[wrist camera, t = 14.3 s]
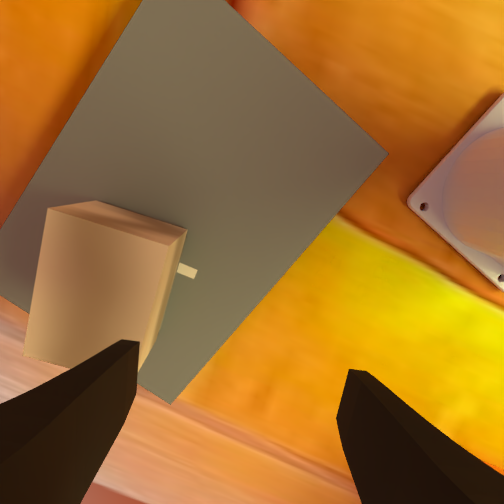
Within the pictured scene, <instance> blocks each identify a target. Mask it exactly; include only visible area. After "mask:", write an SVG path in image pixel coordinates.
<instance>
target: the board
mask: <svg viewBox="0 0 504 504" xmlns="http://www.w3.org/2000/svg"><path fill="white" fill-rule="evenodd" d="M388 154H389V153H388V152H387V151H386V150H385V149H383V148H382V147H381V146H380V145H379V144H378V143H377V142H376V141H375V140H374V139H373V138H372V137H371V136H370V135H368V134H367V133H366V132H365V131H364V130H363V129H362V128H361V127H360V126H359V125H358V124H357V123H356V122H355V121H353V120H352V119H351V118H350V117H349V116H348V115H347V114H346V113H345V112H344V111H343V110H342V109H341V108H340V107H338V106H337V105H336V104H335V103H334V102H333V101H332V100H331V99H330V98H329V97H328V96H327V95H326V94H325V93H323V92H322V91H321V90H320V89H319V88H318V87H317V86H316V85H315V84H314V83H313V82H312V81H311V80H310V79H308V78H307V77H306V76H305V75H304V74H303V73H302V72H301V71H300V70H299V69H298V68H297V67H296V66H294V65H293V64H292V63H291V62H290V61H289V60H288V59H287V58H286V57H285V56H284V55H283V54H282V53H281V52H279V51H278V50H277V49H276V48H275V47H274V46H273V45H272V44H271V43H270V42H269V41H268V40H267V39H266V38H264V37H263V36H262V35H261V34H260V33H259V32H258V31H257V30H256V29H255V28H254V27H253V26H252V25H251V24H249V23H248V22H247V21H246V20H245V19H244V18H243V17H242V16H241V15H240V14H239V13H238V12H237V11H236V10H234V9H233V8H232V7H231V6H230V5H229V4H228V3H227V2H226V1H225V0H143V1H142V2H141V4H140V5H139V7H138V9H137V10H136V12H135V14H134V15H133V17H132V18H131V20H130V22H129V23H128V25H127V26H126V28H125V30H124V31H123V33H122V34H121V36H120V38H119V39H118V41H117V42H116V44H115V46H114V47H113V49H112V51H111V52H110V54H109V55H108V57H107V59H106V60H105V62H104V63H103V65H102V67H101V68H100V70H99V71H98V73H97V75H96V76H95V78H94V80H93V81H92V83H91V84H90V86H89V88H88V89H87V91H86V92H85V94H84V96H83V97H82V99H81V100H80V102H79V104H78V105H77V107H76V108H75V110H74V112H73V113H72V115H71V117H70V118H69V120H68V121H67V123H66V125H65V126H64V128H63V129H62V131H61V133H60V134H59V136H58V137H57V139H56V141H55V142H54V144H53V145H52V147H51V149H50V150H49V152H48V154H47V155H46V157H45V158H44V160H43V162H42V163H41V165H40V166H39V168H38V170H37V171H36V173H35V174H34V176H33V178H32V179H31V181H30V182H29V184H28V186H27V187H26V189H25V191H24V192H23V194H22V195H21V197H20V199H19V200H18V202H17V203H16V205H15V207H14V208H13V210H12V211H11V213H10V215H9V216H8V218H7V219H6V221H5V223H4V224H3V226H2V228H1V229H0V295H1V296H2V297H4V298H5V299H7V300H9V301H10V302H12V303H13V304H15V305H16V306H18V307H19V308H21V309H23V310H24V311H26V312H27V313H29V314H30V308H31V302H32V296H33V291H34V285H35V279H36V273H37V267H38V261H39V256H40V250H41V244H42V238H43V232H44V227H45V221H46V215H47V209H48V208H51V207H57V206H64V205H70V204H76V203H83V202H89V201H95V200H97V201H100V202H106V203H109V204H112V205H115V206H118V207H122V208H125V209H128V210H131V211H134V212H137V213H140V214H143V215H146V216H150V217H153V218H156V219H159V220H162V221H165V222H168V223H171V224H175V225H178V226H181V227H184V228H185V229H187V235H186V236H187V238H186V242H185V245H184V249H183V252H182V256H181V259H180V263H179V266H178V270H177V273H176V277H175V280H174V284H173V287H172V291H171V294H170V298H169V301H168V305H167V308H166V312H165V315H164V319H163V322H162V326H161V329H160V331H159V334H158V336H157V339H156V341H155V343H154V345H153V347H152V349H151V350H150V352H149V354H148V356H147V357H146V359H145V361H144V363H143V364H142V366H141V368H140V370H139V372H138V376H137V383H138V384H139V385H141V386H142V387H144V388H145V389H147V390H148V391H150V392H152V393H153V394H155V395H156V396H158V397H159V398H161V399H162V400H164V401H166V402H167V403H169V404H170V405H171V404H172V402H173V401H174V400H175V399H176V398H177V397H178V395H179V394H180V393H181V392H182V391H183V390H184V389H185V387H186V386H187V385H188V384H189V383H190V382H191V381H192V379H193V378H194V377H195V376H196V375H197V374H198V372H199V371H200V370H201V369H202V368H203V367H204V366H205V364H206V363H207V362H208V361H209V360H210V359H211V358H212V356H213V355H214V354H215V353H216V352H217V351H218V350H219V348H220V347H221V346H222V345H223V344H224V343H225V341H226V340H227V339H228V338H229V337H230V336H231V335H232V333H233V332H234V331H235V330H236V329H237V328H238V327H239V325H240V324H241V323H242V322H243V321H244V320H245V318H246V317H247V316H248V315H249V314H250V313H251V312H252V310H253V309H254V308H255V307H256V306H257V305H258V304H259V302H260V301H261V300H262V299H263V298H264V297H265V295H266V294H267V293H268V292H269V291H270V290H271V289H272V287H273V286H274V285H275V284H276V283H277V282H278V281H279V279H280V278H281V277H282V276H283V275H284V274H285V273H286V271H287V270H288V269H289V268H290V267H291V266H292V264H293V263H294V262H295V261H296V260H297V259H298V258H299V256H300V255H301V254H302V253H303V252H304V251H305V250H306V248H307V247H308V246H309V245H310V244H311V243H312V241H313V240H314V239H315V238H316V237H317V236H318V235H319V233H320V232H321V231H322V230H323V229H324V228H325V227H326V225H327V224H328V223H329V222H330V221H331V220H332V218H333V217H334V216H335V215H336V214H337V213H338V212H339V210H340V209H341V208H342V207H343V206H344V205H345V204H346V202H347V201H348V200H349V199H350V198H351V197H352V195H353V194H354V193H355V192H356V191H357V190H358V189H359V187H360V186H361V185H362V184H363V183H364V182H365V181H366V179H367V178H368V177H369V176H370V175H371V174H372V173H373V171H374V170H375V169H376V168H377V167H378V166H379V164H380V163H381V162H382V161H383V160H384V159H385V158H386V156H387V155H388Z"/></svg>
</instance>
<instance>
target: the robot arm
mask: <svg viewBox="0 0 504 504" xmlns="http://www.w3.org/2000/svg"><path fill="white" fill-rule="evenodd" d="M422 203H424V204H425V208H424V209H423V210H422V211H421V210H420V205H421V204H422ZM407 205H408V207H409V208H410V209H411V210H412V211H414V212H415V213H416V214H417V215H418V216H419V217H420V218H421V219H422V220H423V221H425V222H426V223H427V224H428V225H429V226H430V227H431V228H432V229H433V230H434V231H436V232H437V233H438V234H439V235H440V236H441V237H442V238H443V239H444V240H446V241H447V242H448V243H449V244H450V245H451V246H452V247H453V248H454V249H455V250H457V251H458V252H459V253H460V254H461V255H462V256H463V257H464V258H465V259H466V260H468V261H469V262H470V263H471V264H472V265H473V266H474V267H475V268H476V269H478V270H479V271H480V272H481V273H482V274H483V275H484V276H485V277H486V278H487V279H489V280H490V281H491V282H492V283H493V284H494V285H495V286H496V287H497V288H498V289H500V290H501V291H502V292H504V93H503V94H502V95H501V96H500V97H499V98H498V99H497V100H496V101H495V102H494V104H493V105H492V106H491V107H490V108H489V109H488V110H487V111H486V112H485V113H484V114H483V116H482V117H481V118H480V119H479V120H478V121H477V122H476V123H475V124H474V125H473V127H472V128H471V129H470V130H469V131H468V132H467V133H466V134H465V135H464V136H463V137H462V139H461V140H460V141H459V142H458V143H457V144H456V145H455V146H454V147H453V148H452V150H451V151H450V152H449V153H448V154H447V155H446V156H445V157H444V158H443V159H442V161H441V162H440V163H439V164H438V165H437V166H436V167H435V168H434V169H433V170H432V171H431V173H430V174H429V175H428V176H427V177H426V178H425V179H424V180H423V181H422V182H421V184H420V185H419V186H418V187H417V188H416V189H415V190H414V191H413V192H412V193H411V194H410V196H409V197H408V199H407ZM500 275H501V278H500V279H498V277H499V276H500ZM139 348H140V341H132V340H124V339H121V340H119V341H117V342H116V343H114V344H112V345H110V346H109V347H107V348H105V349H104V350H102V351H100V352H99V353H97V354H95V355H94V356H92V357H90V358H89V359H87V360H85V361H84V362H82V363H80V364H78V365H77V366H75V367H73V368H72V369H70V370H68V371H66V372H64V373H62V374H60V375H59V376H57V377H55V378H53V379H51V380H49V381H47V382H45V383H44V384H42V385H40V386H38V387H36V388H34V389H32V390H30V391H28V392H26V393H24V394H21V395H19V396H17V397H15V398H13V399H10V400H8V401H6V402H4V403H1V404H0V504H80V503H81V501H82V499H83V497H84V495H85V494H86V492H87V490H88V488H89V487H90V485H91V483H92V481H93V479H94V477H95V476H96V474H97V472H98V470H99V468H100V467H101V465H102V463H103V461H104V459H105V458H106V456H107V454H108V452H109V450H110V448H111V447H112V445H113V443H114V441H115V439H116V437H117V436H118V434H119V432H120V430H121V428H122V426H123V424H124V422H125V420H126V418H127V415H128V413H129V410H130V408H131V405H132V403H133V400H134V398H135V395H136V390H137V376H138V362H139ZM336 420H337V425H338V429H339V434H340V439H341V443H342V447H343V451H344V454H345V457H346V460H347V462H348V465H349V468H350V471H351V474H352V477H353V480H354V482H355V485H356V488H357V491H358V494H359V497H360V499H361V502H362V504H504V475H502V474H501V473H499V472H498V471H496V470H495V469H493V468H492V467H490V466H489V465H487V464H486V463H484V462H483V461H481V460H480V459H478V458H477V457H475V456H474V455H472V454H471V453H469V452H468V451H467V450H465V449H464V448H462V447H461V446H460V445H458V444H457V443H456V442H454V441H453V440H451V439H450V438H449V437H448V436H446V435H445V434H444V433H442V432H441V431H440V430H438V429H437V428H436V427H434V426H433V425H432V424H431V423H429V422H428V421H427V420H426V419H424V418H423V417H422V416H421V415H419V414H418V413H417V412H416V411H415V410H413V409H412V408H411V407H410V406H409V405H407V404H406V403H405V402H404V401H403V400H401V399H400V398H399V397H398V396H397V395H395V394H394V393H393V392H392V391H391V390H390V389H388V388H387V387H386V386H385V385H384V384H382V383H381V382H380V381H379V380H377V379H376V378H375V377H374V376H372V375H371V374H370V373H368V372H367V371H362V370H354V369H349V371H348V375H347V379H346V383H345V386H344V390H343V394H342V398H341V402H340V406H339V409H338V413H337V417H336Z"/></svg>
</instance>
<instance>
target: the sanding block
mask: <svg viewBox="0 0 504 504" xmlns="http://www.w3.org/2000/svg"><path fill="white" fill-rule="evenodd" d="M186 235H187V229H185V228H184V227H181V226H178V225H175V224H171V223H168V222H165V221H162V220H159V219H156V218H153V217H150V216H146V215H143V214H140V213H137V212H134V211H131V210H128V209H125V208H122V207H118V206H115V205H112V204H109V203H106V202H100V201H97V200H95V201H89V202H83V203H76V204H70V205H64V206H57V207H51V208H48V209H47V215H46V221H45V227H44V232H43V238H42V244H41V250H40V256H39V261H38V267H37V273H36V279H35V285H34V291H33V296H32V302H31V308H30V314H29V320H28V326H27V331H26V337H25V343H24V349H23V355H22V356H26V357H29V358H33V359H37V360H40V361H44V362H48V363H51V364H55V365H59V366H63V367H66V368H70V369H72V368H73V367H75V366H77V365H78V364H80V363H82V362H84V361H85V360H87V359H89V358H90V357H92V356H94V355H95V354H97V353H99V352H100V351H102V350H104V349H105V348H107V347H109V346H110V345H112V344H114V343H116V342H117V341H119V340H121V339H124V340H132V341H140V348H139V362H138V372H139V370H140V368H141V366H142V364H143V363H144V361H145V359H146V357H147V356H148V354H149V352H150V350H151V349H152V347H153V345H154V343H155V341H156V339H157V336H158V334H159V331H160V329H161V326H162V322H163V319H164V315H165V312H166V308H167V305H168V301H169V298H170V294H171V291H172V287H173V284H174V280H175V277H176V273H177V270H178V266H179V263H180V259H181V256H182V252H183V249H184V245H185V242H186V238H187V236H186Z"/></svg>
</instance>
